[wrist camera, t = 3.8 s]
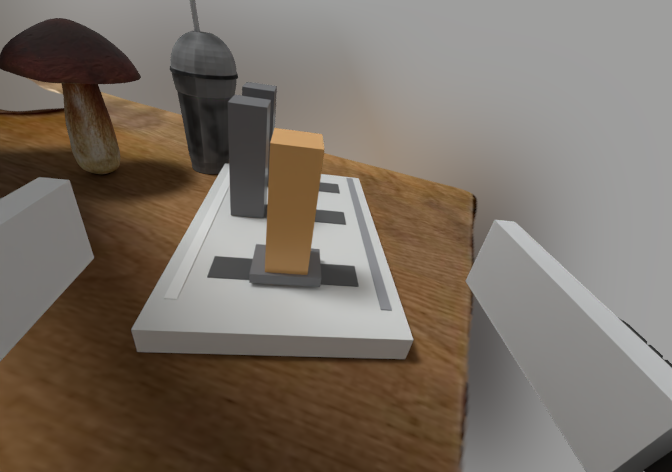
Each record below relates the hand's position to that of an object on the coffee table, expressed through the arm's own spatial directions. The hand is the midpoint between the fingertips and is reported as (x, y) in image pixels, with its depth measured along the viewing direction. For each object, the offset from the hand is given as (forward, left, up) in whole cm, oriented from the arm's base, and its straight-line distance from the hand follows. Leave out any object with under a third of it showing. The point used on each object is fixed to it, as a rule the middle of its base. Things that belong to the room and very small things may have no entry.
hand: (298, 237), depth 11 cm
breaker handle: (0, +10, -10) cm, 14 cm away
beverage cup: (-11, +33, -12) cm, 37 cm away
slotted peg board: (0, +17, -12) cm, 21 cm away
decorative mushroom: (-22, +28, -12) cm, 38 cm away
